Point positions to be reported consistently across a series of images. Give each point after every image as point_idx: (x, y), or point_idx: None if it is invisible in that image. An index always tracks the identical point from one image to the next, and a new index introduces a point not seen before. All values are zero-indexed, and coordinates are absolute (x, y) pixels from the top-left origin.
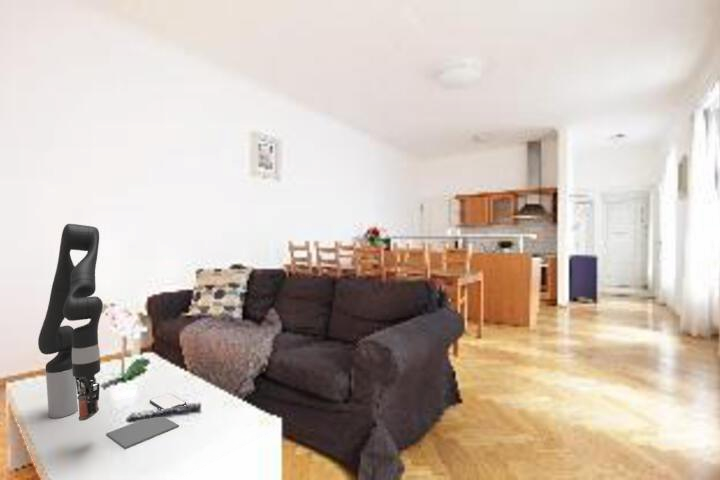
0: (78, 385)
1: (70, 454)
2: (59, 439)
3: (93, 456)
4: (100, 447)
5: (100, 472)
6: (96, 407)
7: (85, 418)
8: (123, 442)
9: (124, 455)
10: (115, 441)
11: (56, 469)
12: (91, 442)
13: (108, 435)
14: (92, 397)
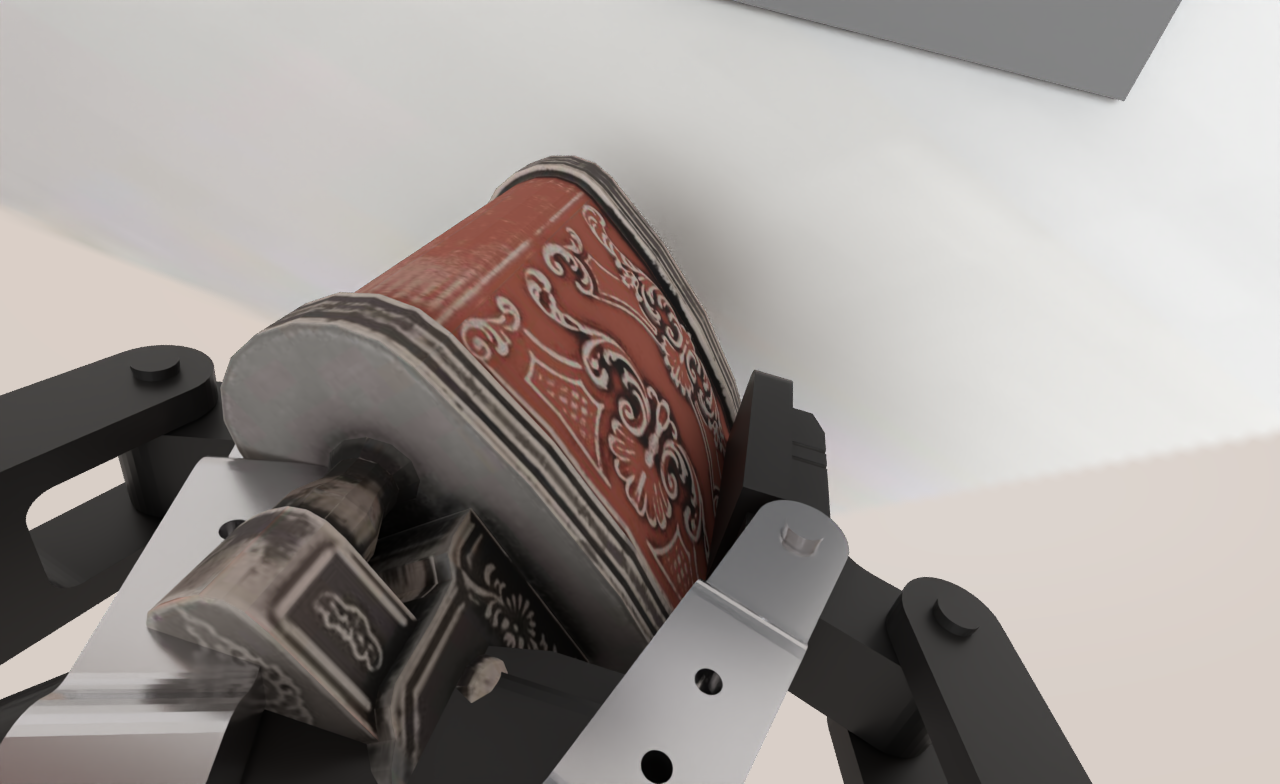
0: (12, 642)
1: None
2: (323, 222)
3: (877, 305)
4: (797, 177)
5: (1160, 442)
6: (627, 260)
7: None
8: (1011, 28)
9: (1205, 191)
10: (861, 33)
11: None
12: (621, 147)
13: None
14: (642, 508)
